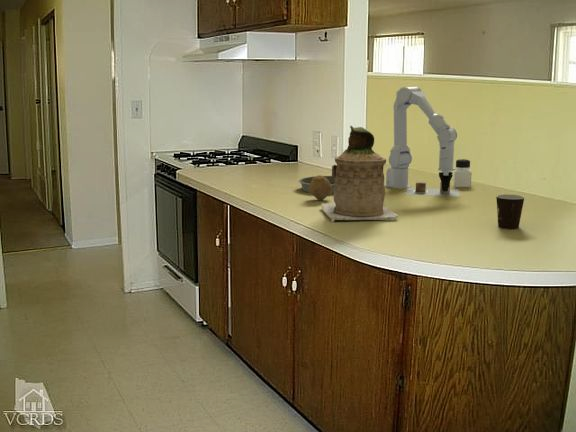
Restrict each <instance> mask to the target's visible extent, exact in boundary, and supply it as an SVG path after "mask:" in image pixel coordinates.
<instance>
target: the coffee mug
mask: <svg viewBox="0 0 576 432" xmlns="http://www.w3.org/2000/svg"><path fill="white" fill-rule="evenodd" d="M495 199H496V214H497V216H496V217H497V227H498V228H501V229H503V230H504V229H505V230H517V229H519V228H520V223H521V218H522V213H523V207H524V201H525V196H523V195H520V194H519V195H518V194H510V193H509V194H508V193H507V194H497V195H496V196H495Z"/></svg>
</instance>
